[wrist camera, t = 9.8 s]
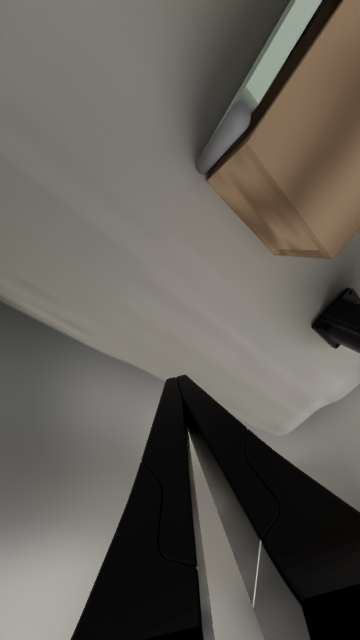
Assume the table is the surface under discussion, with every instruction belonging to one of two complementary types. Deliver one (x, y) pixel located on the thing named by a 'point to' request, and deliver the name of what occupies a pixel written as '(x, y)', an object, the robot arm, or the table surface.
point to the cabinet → (303, 145)
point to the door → (258, 80)
